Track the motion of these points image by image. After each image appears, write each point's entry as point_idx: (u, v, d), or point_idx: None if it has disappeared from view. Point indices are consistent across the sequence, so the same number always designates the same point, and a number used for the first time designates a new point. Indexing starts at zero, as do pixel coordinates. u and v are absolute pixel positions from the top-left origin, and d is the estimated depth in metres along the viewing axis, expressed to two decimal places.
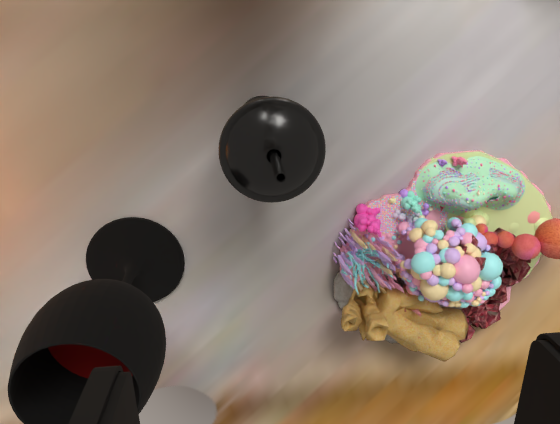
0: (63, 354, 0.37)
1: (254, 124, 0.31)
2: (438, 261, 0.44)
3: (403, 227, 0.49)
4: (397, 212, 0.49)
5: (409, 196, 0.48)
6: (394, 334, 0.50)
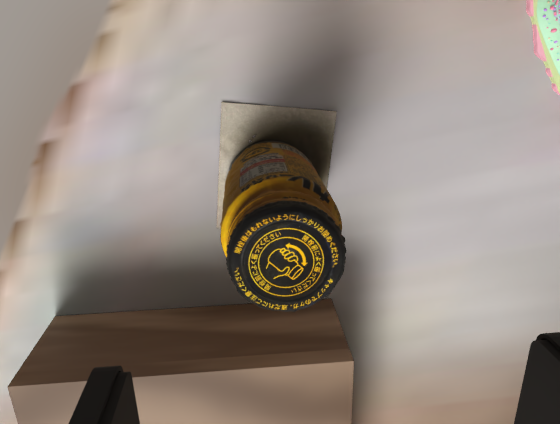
0: None
1: None
2: None
3: None
4: None
5: None
6: None
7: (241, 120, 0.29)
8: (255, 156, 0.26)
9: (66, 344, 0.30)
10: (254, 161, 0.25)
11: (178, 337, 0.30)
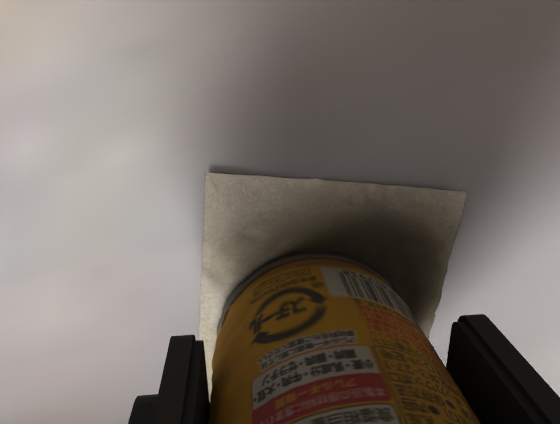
0: None
1: None
2: None
3: None
4: None
5: None
6: None
7: (250, 211, 0.13)
8: (291, 336, 0.10)
9: None
10: (292, 370, 0.09)
11: None
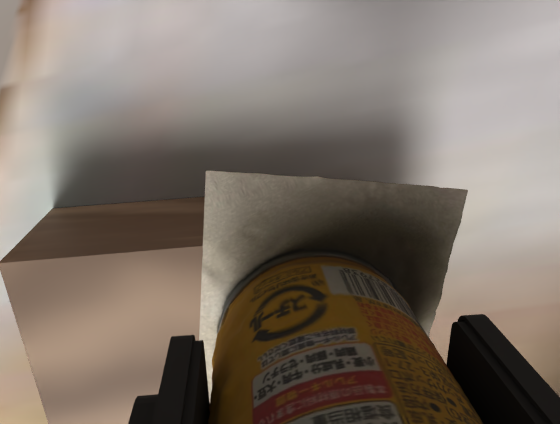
0: None
1: None
2: None
3: None
4: None
5: None
6: None
7: (250, 209, 0.13)
8: (292, 334, 0.10)
9: (67, 228, 0.25)
10: (293, 367, 0.09)
11: (197, 218, 0.26)
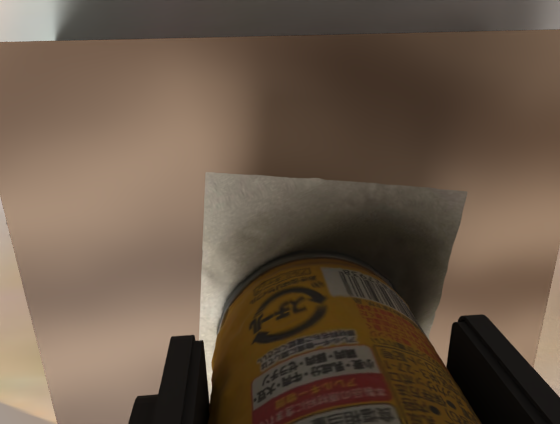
0: None
1: None
2: None
3: None
4: None
5: None
6: None
7: (249, 210, 0.13)
8: (291, 336, 0.10)
9: None
10: (292, 369, 0.09)
11: None
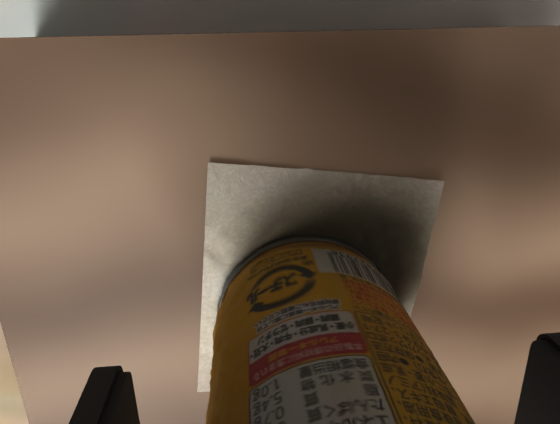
0: None
1: None
2: None
3: None
4: None
5: None
6: None
7: (247, 197, 0.14)
8: (283, 305, 0.11)
9: None
10: (284, 331, 0.10)
11: None
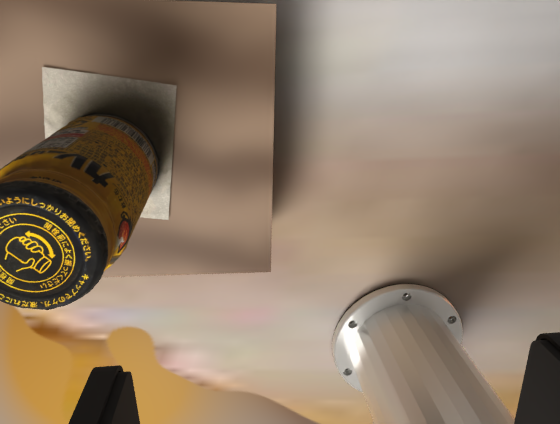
0: None
1: None
2: None
3: None
4: None
5: None
6: None
7: (66, 88, 0.26)
8: (62, 129, 0.23)
9: None
10: (53, 135, 0.22)
11: None
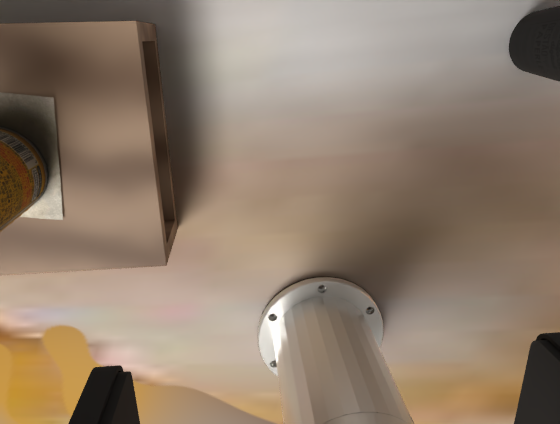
0: None
1: None
2: None
3: None
4: None
5: None
6: None
7: None
8: None
9: None
10: None
11: None
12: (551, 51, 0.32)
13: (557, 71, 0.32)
